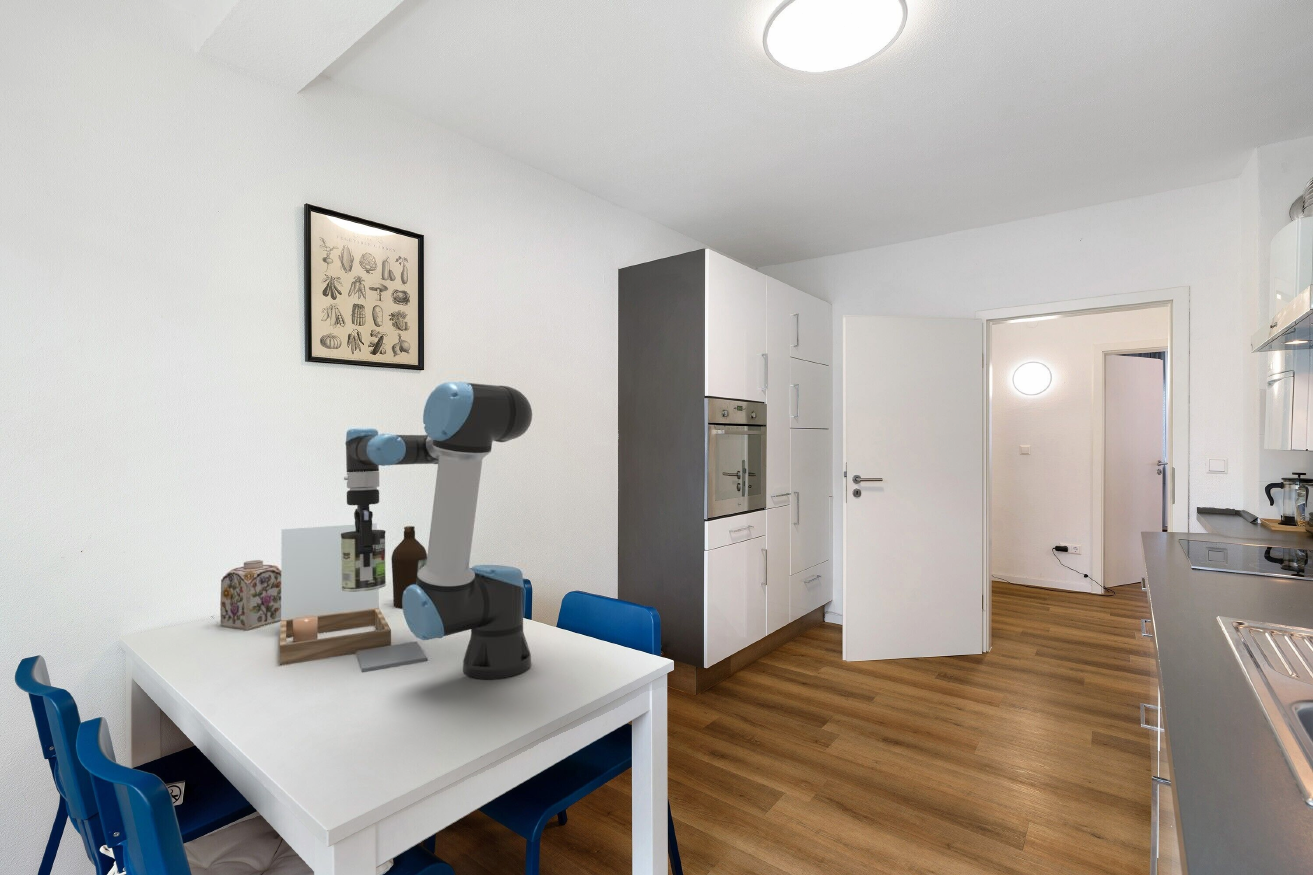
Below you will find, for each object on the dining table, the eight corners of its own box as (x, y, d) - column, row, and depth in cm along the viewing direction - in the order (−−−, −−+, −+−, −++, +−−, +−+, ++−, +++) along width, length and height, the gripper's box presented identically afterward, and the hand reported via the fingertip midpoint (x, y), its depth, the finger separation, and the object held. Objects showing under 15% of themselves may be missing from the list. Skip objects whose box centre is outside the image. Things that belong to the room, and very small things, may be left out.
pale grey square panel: (376, 523, 182) (375, 524, 183) (281, 529, 169) (281, 530, 171) (379, 607, 176) (378, 608, 177) (281, 620, 164) (281, 620, 165)
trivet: (427, 660, 145) (427, 657, 145) (361, 672, 138) (361, 668, 138) (416, 644, 157) (416, 641, 157) (356, 654, 150) (356, 650, 150)
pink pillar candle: (317, 642, 159) (318, 619, 159) (292, 646, 157) (292, 622, 157) (317, 636, 164) (317, 614, 164) (292, 640, 161) (292, 617, 161)
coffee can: (393, 582, 161) (392, 528, 161) (374, 591, 151) (373, 533, 151) (354, 583, 161) (353, 529, 161) (332, 592, 151) (332, 534, 151)
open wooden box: (391, 647, 155) (391, 629, 155) (279, 665, 143) (279, 645, 143) (379, 623, 176) (379, 607, 176) (281, 637, 164) (281, 620, 164)
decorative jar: (246, 631, 169) (247, 566, 170) (218, 626, 174) (218, 563, 174) (286, 619, 181) (287, 558, 181) (259, 615, 185) (259, 556, 185)
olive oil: (386, 609, 191) (386, 529, 192) (398, 600, 202) (398, 524, 202) (420, 608, 192) (420, 528, 192) (431, 600, 203) (431, 524, 203)
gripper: (343, 488, 164) (344, 571, 164) (350, 491, 145) (351, 585, 144) (373, 486, 168) (374, 568, 167) (384, 489, 149) (386, 581, 148)
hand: (364, 576), depth 156 cm, fingers closed on coffee can, 10 cm apart
